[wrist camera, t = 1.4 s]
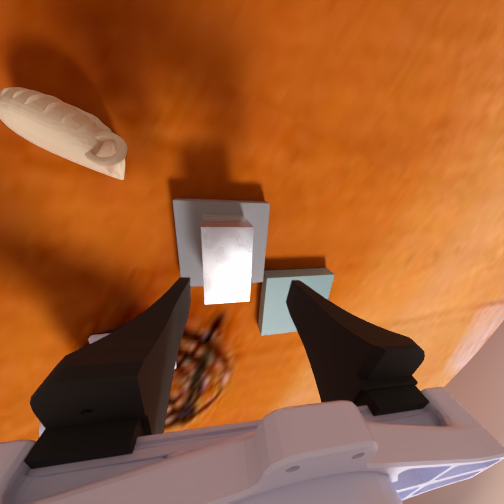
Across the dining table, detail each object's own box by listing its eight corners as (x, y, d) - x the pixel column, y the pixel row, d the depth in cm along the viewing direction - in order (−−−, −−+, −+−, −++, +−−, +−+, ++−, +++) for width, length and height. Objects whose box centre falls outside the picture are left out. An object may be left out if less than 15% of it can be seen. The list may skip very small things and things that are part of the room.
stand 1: (184, 278, 22) (181, 287, 20) (176, 197, 18) (172, 200, 17) (258, 274, 24) (262, 282, 22) (264, 201, 20) (270, 203, 19)
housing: (206, 276, 20) (204, 304, 16) (203, 214, 18) (200, 227, 13) (241, 274, 21) (249, 300, 17) (243, 215, 18) (253, 227, 14)
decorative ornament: (38, 85, 14) (-59, 35, 9) (153, 148, 16) (128, 136, 12) (29, 139, 15) (-61, 120, 10) (139, 189, 18) (112, 194, 13)
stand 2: (257, 325, 27) (261, 335, 26) (262, 270, 24) (267, 278, 22) (313, 318, 29) (320, 328, 28) (326, 267, 26) (334, 274, 24)
